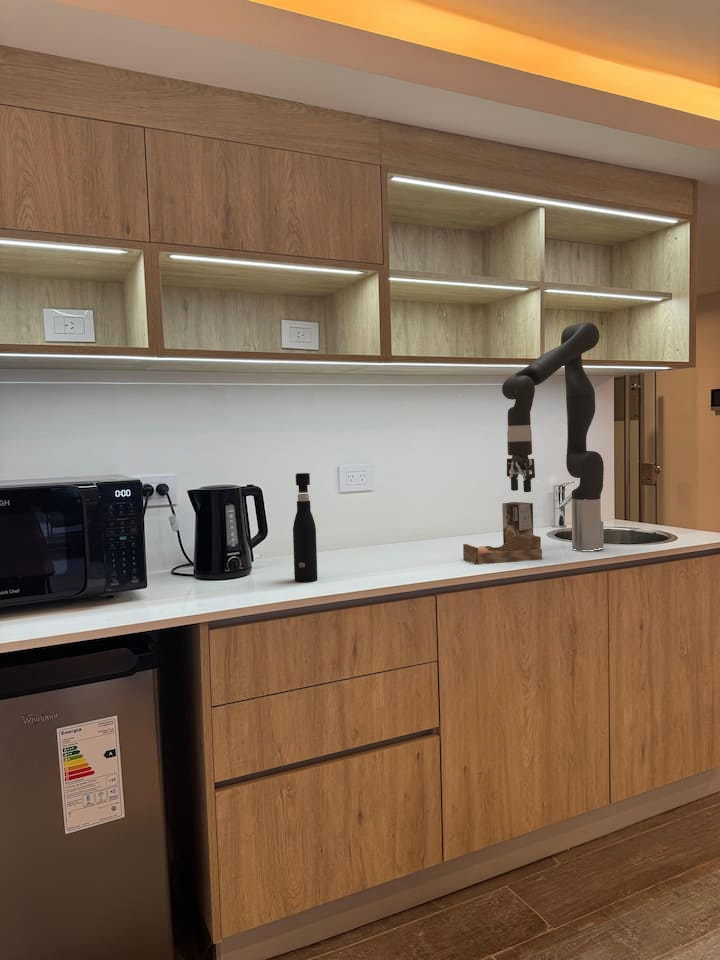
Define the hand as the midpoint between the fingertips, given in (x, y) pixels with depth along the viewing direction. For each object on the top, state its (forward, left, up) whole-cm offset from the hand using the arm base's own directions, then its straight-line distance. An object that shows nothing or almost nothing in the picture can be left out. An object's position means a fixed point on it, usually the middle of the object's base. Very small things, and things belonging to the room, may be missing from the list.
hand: (520, 491), depth 214 cm
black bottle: (+71, +9, -22) cm, 75 cm away
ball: (+14, 0, -21) cm, 26 cm away
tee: (+7, -11, -21) cm, 25 cm away
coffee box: (-7, -16, -22) cm, 28 cm away
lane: (+7, 0, -21) cm, 22 cm away
